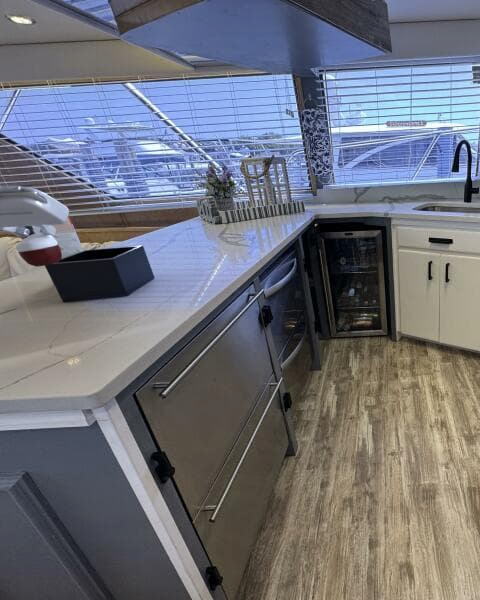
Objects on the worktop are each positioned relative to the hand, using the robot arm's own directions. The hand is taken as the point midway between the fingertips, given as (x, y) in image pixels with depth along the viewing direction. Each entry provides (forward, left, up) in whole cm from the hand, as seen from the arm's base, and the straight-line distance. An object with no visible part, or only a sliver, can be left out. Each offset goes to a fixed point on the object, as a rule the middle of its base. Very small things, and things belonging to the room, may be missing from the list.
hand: (38, 233), depth 69 cm
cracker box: (-15, +25, -18) cm, 35 cm away
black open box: (0, +14, -18) cm, 23 cm away
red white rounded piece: (-1, -1, -7) cm, 7 cm away
